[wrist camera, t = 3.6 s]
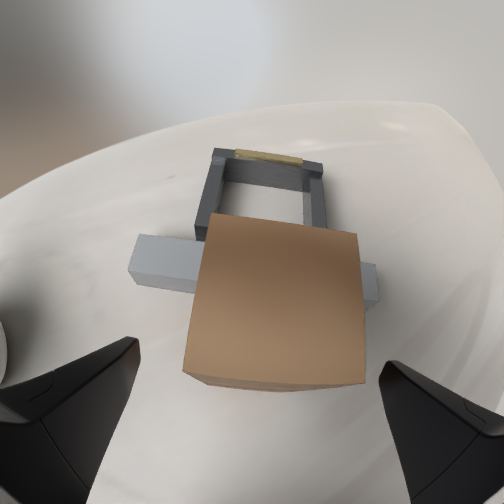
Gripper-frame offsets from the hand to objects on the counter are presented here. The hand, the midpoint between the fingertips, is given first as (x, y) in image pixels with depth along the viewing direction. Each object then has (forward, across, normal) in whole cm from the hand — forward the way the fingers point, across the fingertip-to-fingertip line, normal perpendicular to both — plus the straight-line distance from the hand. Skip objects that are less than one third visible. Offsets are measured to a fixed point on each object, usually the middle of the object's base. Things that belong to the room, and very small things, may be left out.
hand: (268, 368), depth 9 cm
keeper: (+16, 0, -2) cm, 17 cm away
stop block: (+8, 0, +6) cm, 10 cm away
